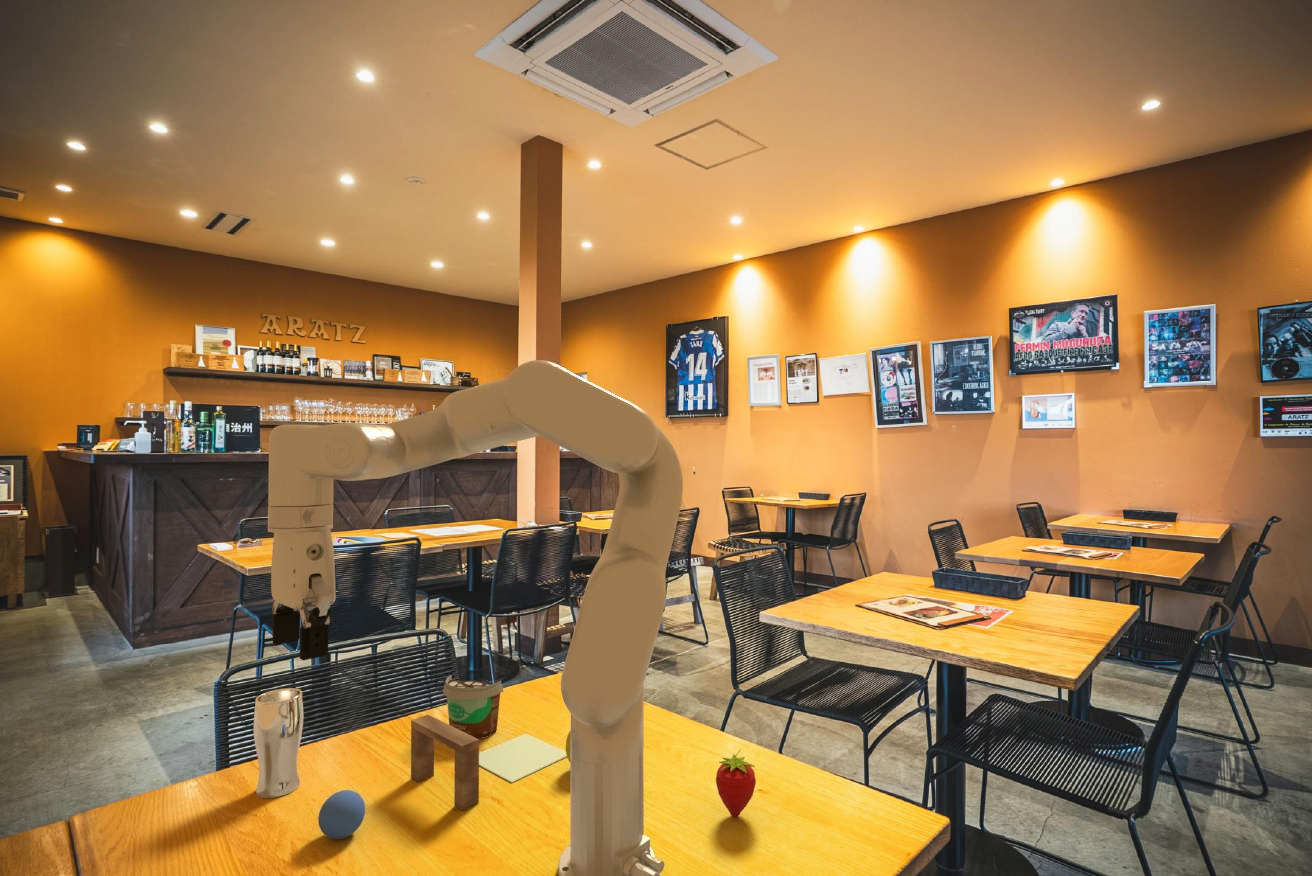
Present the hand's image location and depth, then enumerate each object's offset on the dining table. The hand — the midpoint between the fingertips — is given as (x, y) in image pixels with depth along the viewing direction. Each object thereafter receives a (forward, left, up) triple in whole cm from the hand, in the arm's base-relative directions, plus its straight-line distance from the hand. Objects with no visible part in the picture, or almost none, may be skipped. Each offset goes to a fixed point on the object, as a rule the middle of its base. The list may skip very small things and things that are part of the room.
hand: (299, 649), depth 84 cm
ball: (+3, -7, -26) cm, 27 cm away
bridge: (+3, -23, -29) cm, 37 cm away
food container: (+18, -37, -29) cm, 50 cm away
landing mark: (+3, -38, -29) cm, 48 cm away
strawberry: (-37, -47, -29) cm, 66 cm away
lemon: (-9, -42, -29) cm, 52 cm away
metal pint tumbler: (+24, -6, -29) cm, 38 cm away
